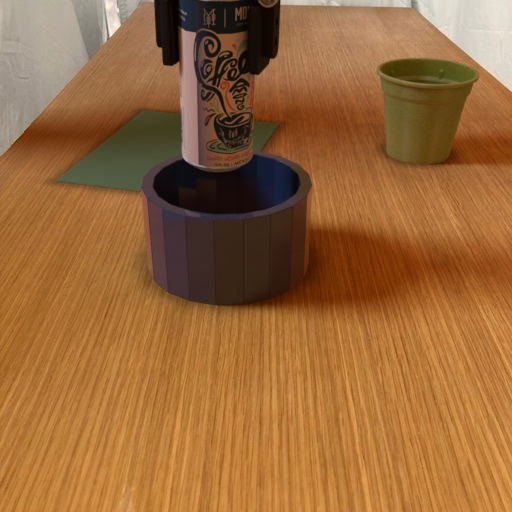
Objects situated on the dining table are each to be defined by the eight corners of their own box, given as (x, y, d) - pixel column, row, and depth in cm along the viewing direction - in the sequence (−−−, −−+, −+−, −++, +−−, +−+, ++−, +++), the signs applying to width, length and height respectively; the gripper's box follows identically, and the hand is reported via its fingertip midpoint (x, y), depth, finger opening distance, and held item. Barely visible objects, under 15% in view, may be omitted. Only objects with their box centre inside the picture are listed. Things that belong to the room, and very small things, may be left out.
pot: (123, 296, 48) (112, 206, 44) (181, 220, 57) (177, 141, 54) (287, 323, 45) (291, 229, 42) (320, 239, 55) (325, 157, 51)
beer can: (211, 182, 44) (209, -16, 38) (168, 159, 47) (160, -28, 41) (267, 163, 47) (273, -24, 41) (223, 142, 50) (223, -35, 44)
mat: (56, 186, 63) (55, 180, 62) (143, 115, 79) (143, 110, 79) (225, 207, 59) (225, 201, 59) (279, 128, 76) (279, 123, 76)
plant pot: (351, 146, 71) (358, 62, 67) (427, 134, 75) (439, 53, 70) (402, 182, 64) (414, 89, 60) (484, 166, 67) (501, 77, 63)
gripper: (21, -313, 33) (66, 67, 42) (379, -319, 29) (340, 97, 39) (93, -289, 39) (118, 38, 49) (395, -292, 36) (359, 62, 45)
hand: (217, 61), depth 44 cm, fingers closed on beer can, 4 cm apart
